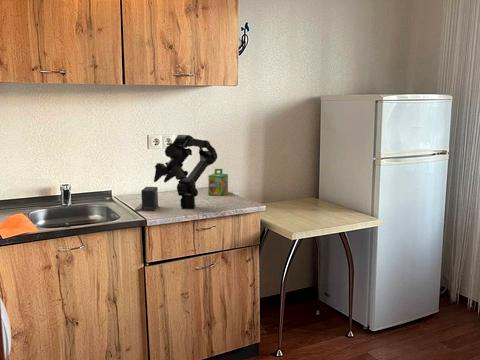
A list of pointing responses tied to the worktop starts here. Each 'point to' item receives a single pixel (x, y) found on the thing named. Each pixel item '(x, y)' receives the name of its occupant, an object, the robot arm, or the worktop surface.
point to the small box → (149, 198)
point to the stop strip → (139, 208)
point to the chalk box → (218, 183)
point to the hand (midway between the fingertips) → (159, 181)
